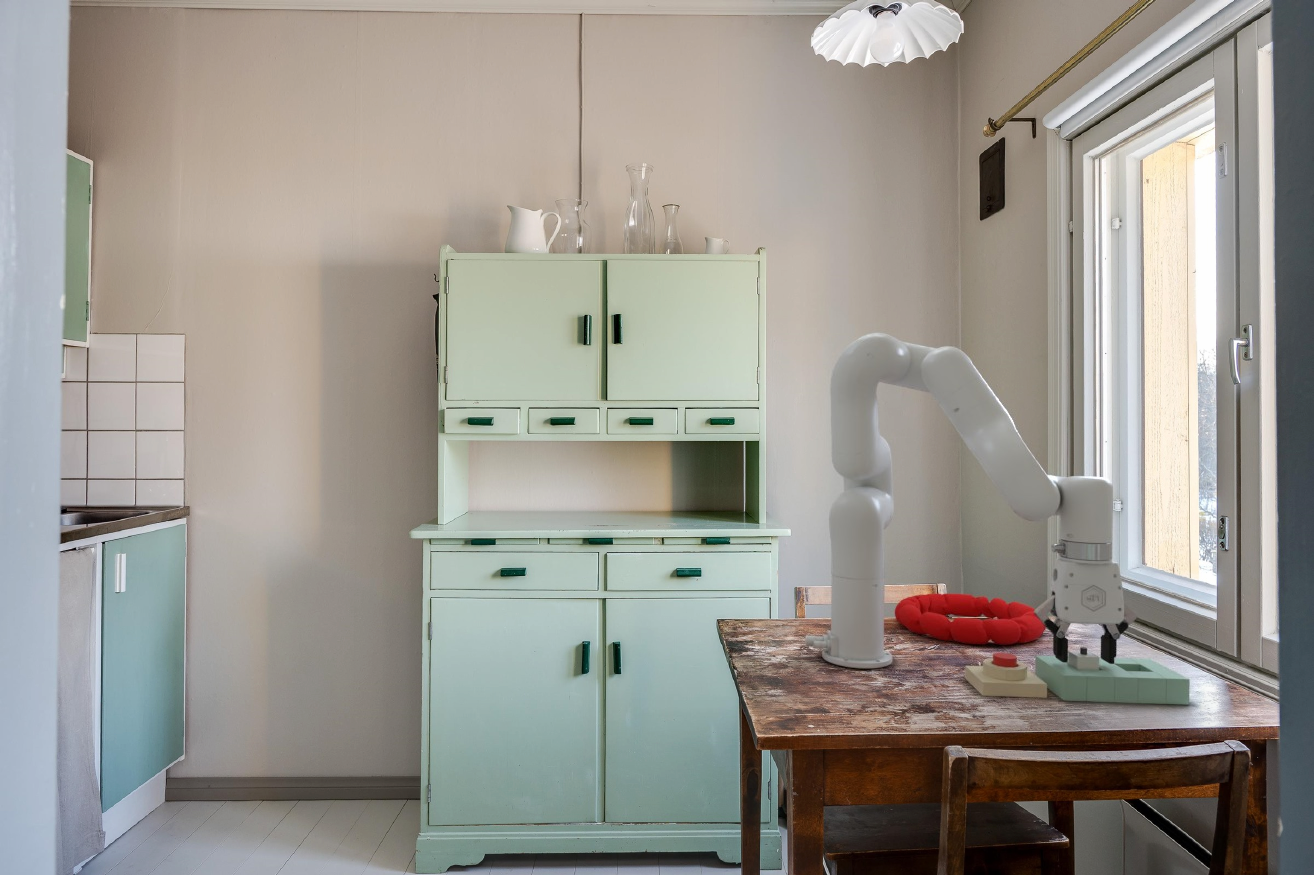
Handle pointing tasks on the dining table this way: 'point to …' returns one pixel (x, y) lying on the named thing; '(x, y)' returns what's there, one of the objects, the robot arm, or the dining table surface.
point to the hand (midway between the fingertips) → (1084, 660)
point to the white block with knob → (1083, 659)
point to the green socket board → (1114, 681)
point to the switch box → (1005, 680)
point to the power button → (1005, 660)
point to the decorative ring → (969, 619)
